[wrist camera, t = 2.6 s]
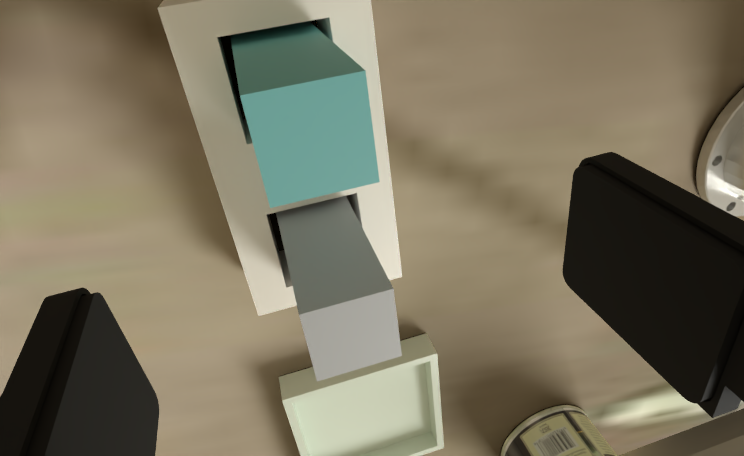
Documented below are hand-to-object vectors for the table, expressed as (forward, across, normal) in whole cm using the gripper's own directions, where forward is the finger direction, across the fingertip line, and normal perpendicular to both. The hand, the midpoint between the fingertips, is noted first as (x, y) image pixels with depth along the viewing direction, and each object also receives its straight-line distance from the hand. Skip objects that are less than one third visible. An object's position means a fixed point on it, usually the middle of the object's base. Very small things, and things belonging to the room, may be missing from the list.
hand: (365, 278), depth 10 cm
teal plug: (+20, -1, 0) cm, 20 cm away
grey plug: (+20, -1, +9) cm, 22 cm away
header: (+20, -1, +5) cm, 20 cm away
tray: (+20, -2, +29) cm, 35 cm away
